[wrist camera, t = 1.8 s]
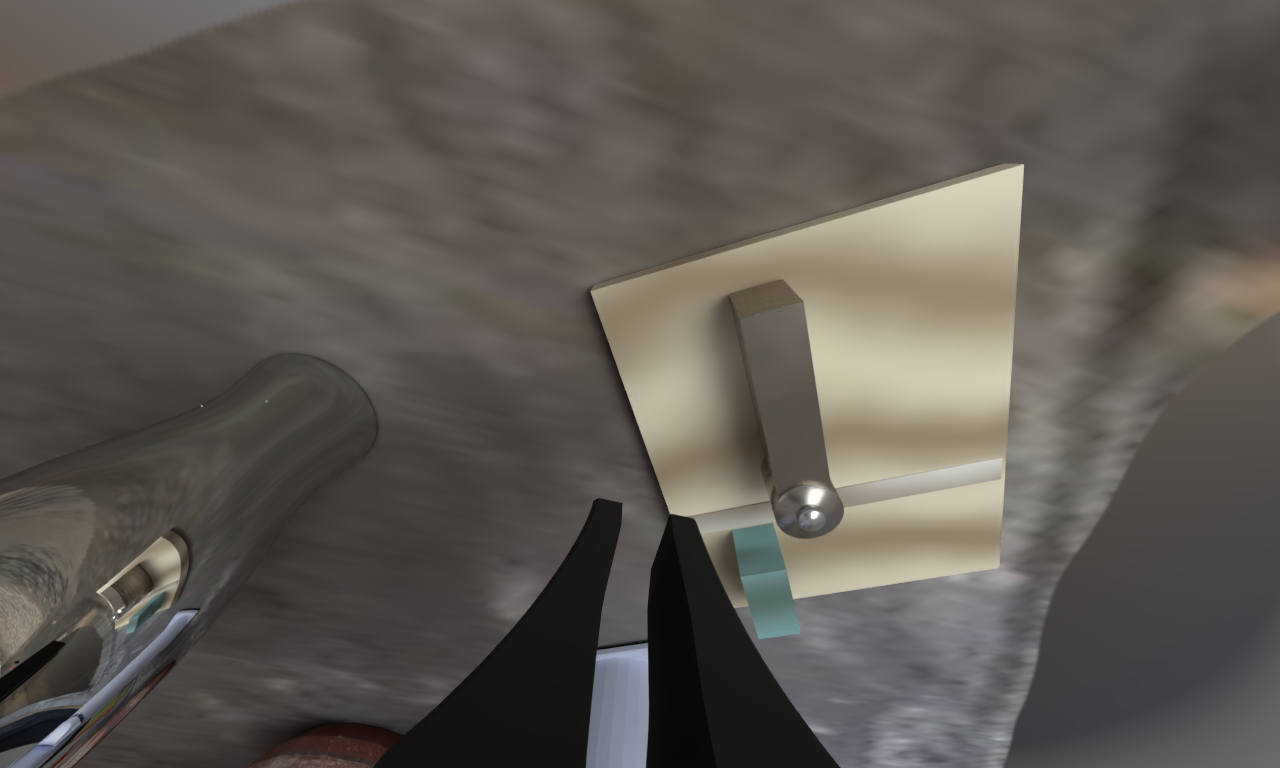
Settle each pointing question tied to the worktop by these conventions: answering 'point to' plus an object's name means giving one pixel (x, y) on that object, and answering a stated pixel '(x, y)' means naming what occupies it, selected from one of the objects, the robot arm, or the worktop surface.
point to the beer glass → (153, 546)
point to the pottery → (331, 748)
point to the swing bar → (786, 409)
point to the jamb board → (839, 389)
